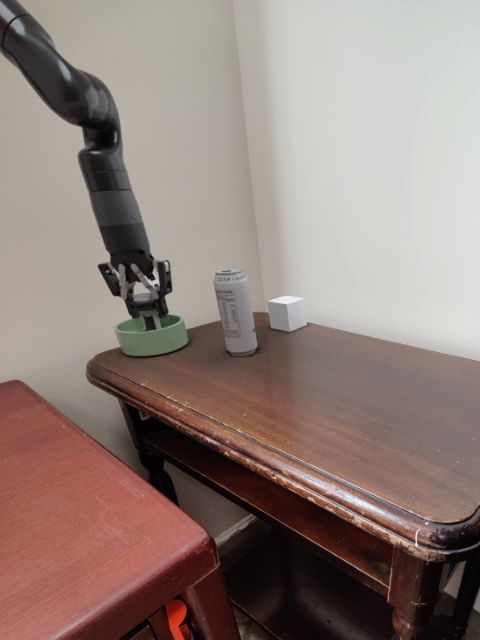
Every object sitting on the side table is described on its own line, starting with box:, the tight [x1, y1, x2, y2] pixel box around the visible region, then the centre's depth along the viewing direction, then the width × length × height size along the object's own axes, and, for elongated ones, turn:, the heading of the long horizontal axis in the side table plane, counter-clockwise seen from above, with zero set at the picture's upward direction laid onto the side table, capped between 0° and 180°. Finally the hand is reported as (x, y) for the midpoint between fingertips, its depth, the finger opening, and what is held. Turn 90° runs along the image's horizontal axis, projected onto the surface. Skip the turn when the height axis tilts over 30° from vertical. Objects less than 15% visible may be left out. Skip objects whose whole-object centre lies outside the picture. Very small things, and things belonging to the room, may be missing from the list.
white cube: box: [267, 295, 308, 333], centre depth 90 cm, size 6×6×6 cm
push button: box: [130, 292, 162, 331], centre depth 80 cm, size 7×5×10 cm
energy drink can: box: [212, 267, 258, 357], centre depth 74 cm, size 6×6×15 cm
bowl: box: [113, 313, 190, 357], centre depth 82 cm, size 13×13×5 cm
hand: (150, 317), depth 80 cm, fingers closed on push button, 5 cm apart
